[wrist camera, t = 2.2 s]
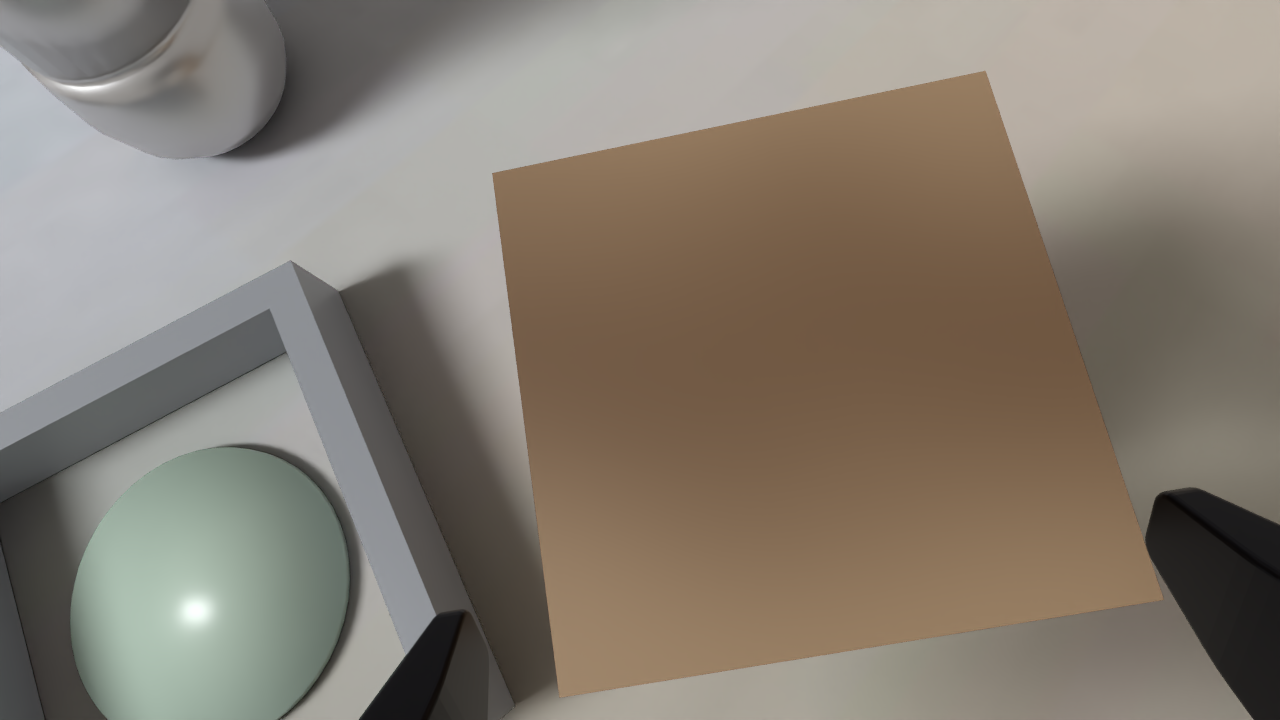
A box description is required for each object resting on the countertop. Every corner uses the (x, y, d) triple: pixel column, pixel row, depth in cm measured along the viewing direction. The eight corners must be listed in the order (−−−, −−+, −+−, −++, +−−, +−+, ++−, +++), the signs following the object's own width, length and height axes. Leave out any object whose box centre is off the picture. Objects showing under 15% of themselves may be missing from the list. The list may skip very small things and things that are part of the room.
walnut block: (853, 551, 18) (1164, 599, 6) (664, 583, 19) (558, 697, 6) (810, 367, 19) (984, 72, 7) (633, 400, 20) (492, 173, 7)
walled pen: (514, 706, 18) (484, 733, 16) (62, 952, 18) (-39, 1018, 15) (338, 290, 21) (290, 260, 19) (-46, 492, 21) (-144, 488, 19)
